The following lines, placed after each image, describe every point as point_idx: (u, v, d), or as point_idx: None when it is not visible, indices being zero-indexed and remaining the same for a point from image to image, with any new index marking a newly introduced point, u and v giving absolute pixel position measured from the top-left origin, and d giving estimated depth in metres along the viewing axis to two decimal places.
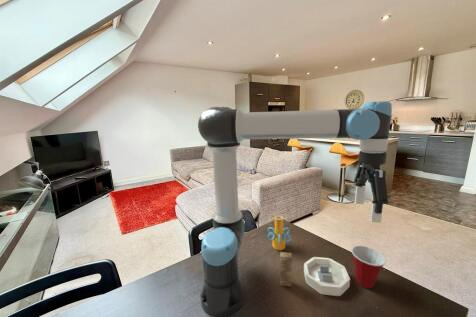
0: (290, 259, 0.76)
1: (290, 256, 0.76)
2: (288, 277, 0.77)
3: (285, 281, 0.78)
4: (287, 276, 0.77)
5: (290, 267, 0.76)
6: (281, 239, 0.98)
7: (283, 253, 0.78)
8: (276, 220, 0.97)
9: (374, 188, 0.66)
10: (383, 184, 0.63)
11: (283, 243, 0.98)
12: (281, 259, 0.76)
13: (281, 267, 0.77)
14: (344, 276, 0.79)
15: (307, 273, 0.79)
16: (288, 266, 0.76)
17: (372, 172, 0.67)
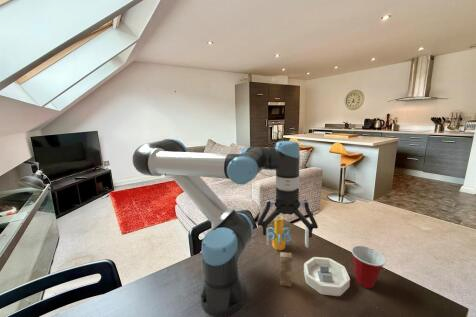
0: (290, 259, 0.76)
1: (290, 256, 0.76)
2: (288, 277, 0.77)
3: (285, 281, 0.78)
4: (287, 276, 0.77)
5: (290, 267, 0.76)
6: (281, 239, 0.98)
7: (283, 253, 0.78)
8: (276, 220, 0.97)
9: (270, 215, 0.76)
10: (264, 211, 0.74)
11: (283, 243, 0.98)
12: (281, 259, 0.76)
13: (281, 267, 0.77)
14: (344, 276, 0.79)
15: (307, 273, 0.79)
16: (288, 266, 0.76)
17: None
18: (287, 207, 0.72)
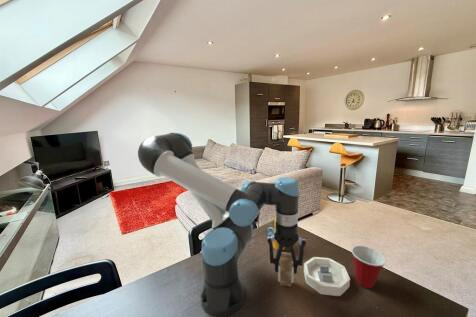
0: (290, 259, 0.76)
1: (290, 256, 0.76)
2: (288, 277, 0.77)
3: (285, 281, 0.78)
4: (287, 276, 0.77)
5: (290, 267, 0.76)
6: None
7: (283, 253, 0.78)
8: None
9: (277, 251, 0.78)
10: (269, 248, 0.77)
11: None
12: (281, 259, 0.76)
13: (281, 267, 0.77)
14: (344, 276, 0.79)
15: (307, 273, 0.79)
16: (288, 266, 0.76)
17: None
18: (286, 241, 0.75)
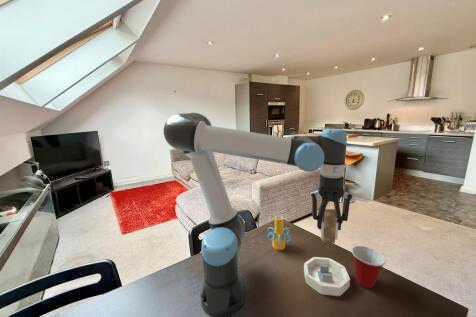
0: (335, 214, 0.74)
1: (334, 211, 0.74)
2: (331, 234, 0.75)
3: (328, 238, 0.76)
4: (331, 233, 0.75)
5: (334, 223, 0.74)
6: (281, 239, 0.98)
7: (326, 209, 0.76)
8: (276, 220, 0.97)
9: (320, 207, 0.76)
10: (312, 204, 0.75)
11: (283, 243, 0.98)
12: (325, 214, 0.74)
13: (325, 223, 0.75)
14: (344, 276, 0.79)
15: (307, 273, 0.79)
16: (333, 222, 0.74)
17: None
18: (331, 195, 0.73)
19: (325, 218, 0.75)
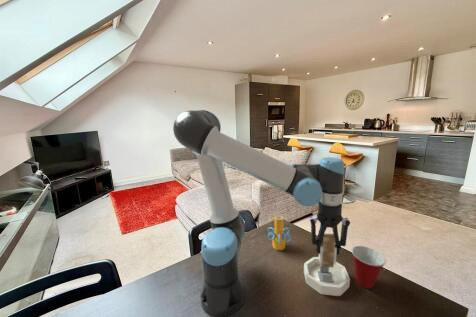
0: (333, 239, 0.76)
1: (333, 237, 0.76)
2: (330, 258, 0.77)
3: (327, 262, 0.78)
4: (329, 257, 0.77)
5: (333, 248, 0.76)
6: (281, 239, 0.98)
7: (325, 234, 0.78)
8: (276, 220, 0.97)
9: (319, 232, 0.78)
10: (311, 229, 0.77)
11: (283, 243, 0.98)
12: (324, 240, 0.76)
13: (324, 248, 0.77)
14: (344, 276, 0.79)
15: (307, 273, 0.79)
16: (331, 247, 0.76)
17: None
18: (330, 221, 0.75)
19: (324, 243, 0.77)
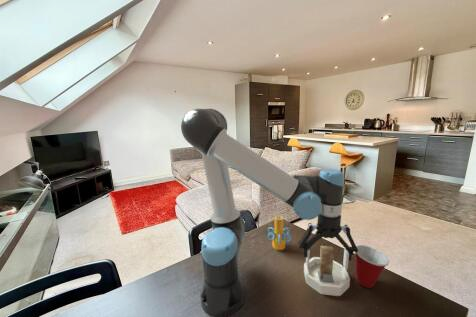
0: (332, 252, 0.77)
1: (331, 249, 0.77)
2: (328, 270, 0.79)
3: None
4: (328, 269, 0.79)
5: (331, 260, 0.78)
6: (281, 239, 0.98)
7: (324, 246, 0.79)
8: (276, 220, 0.97)
9: (311, 237, 0.79)
10: (305, 234, 0.78)
11: (283, 243, 0.98)
12: (322, 252, 0.77)
13: (322, 260, 0.78)
14: (344, 276, 0.79)
15: (307, 273, 0.79)
16: (330, 259, 0.78)
17: None
18: (329, 231, 0.76)
19: (322, 256, 0.78)
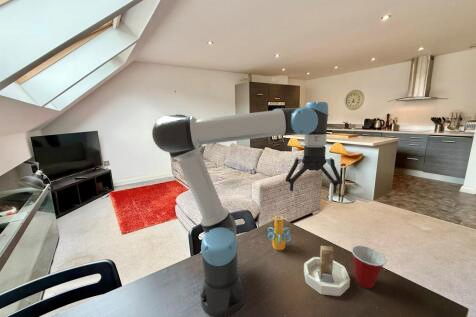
0: (332, 252, 0.77)
1: (331, 249, 0.77)
2: (328, 270, 0.79)
3: None
4: (328, 269, 0.79)
5: (331, 260, 0.78)
6: (281, 239, 0.98)
7: (324, 246, 0.79)
8: (276, 220, 0.97)
9: (297, 172, 0.82)
10: (292, 168, 0.81)
11: (283, 243, 0.98)
12: (322, 252, 0.77)
13: (322, 260, 0.78)
14: (344, 276, 0.79)
15: (307, 273, 0.79)
16: (330, 259, 0.78)
17: None
18: (314, 164, 0.78)
19: (322, 256, 0.78)
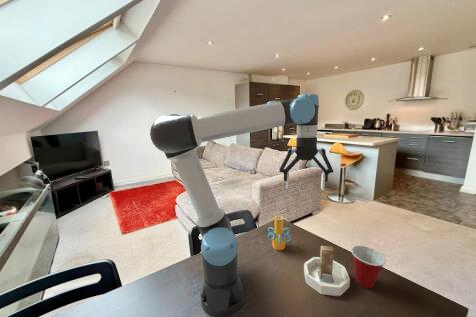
0: (332, 252, 0.77)
1: (331, 249, 0.77)
2: (328, 270, 0.79)
3: None
4: (328, 269, 0.79)
5: (331, 260, 0.78)
6: (281, 239, 0.98)
7: (324, 246, 0.79)
8: (276, 220, 0.97)
9: (290, 163, 0.85)
10: (285, 158, 0.84)
11: (283, 243, 0.98)
12: (322, 252, 0.77)
13: (322, 260, 0.78)
14: (344, 276, 0.79)
15: (307, 273, 0.79)
16: (330, 259, 0.78)
17: None
18: (306, 154, 0.82)
19: (322, 256, 0.78)
